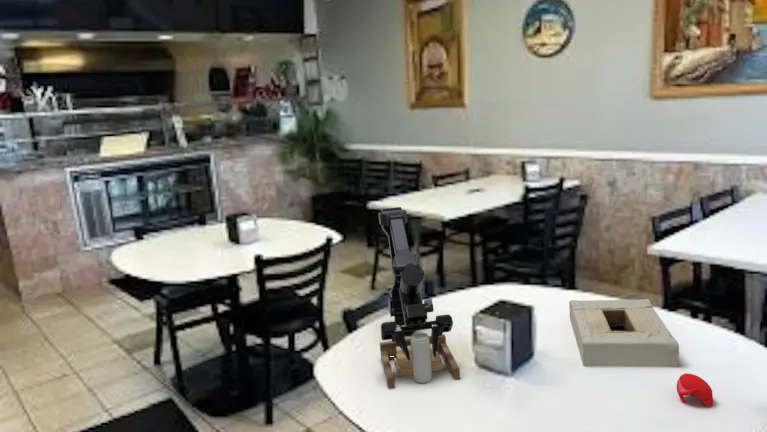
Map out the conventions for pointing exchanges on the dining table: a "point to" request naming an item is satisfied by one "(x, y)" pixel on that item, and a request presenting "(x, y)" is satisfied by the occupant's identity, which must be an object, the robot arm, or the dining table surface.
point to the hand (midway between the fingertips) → (422, 358)
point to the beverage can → (421, 357)
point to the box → (622, 334)
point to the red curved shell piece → (694, 388)
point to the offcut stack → (406, 366)
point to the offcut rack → (390, 347)
